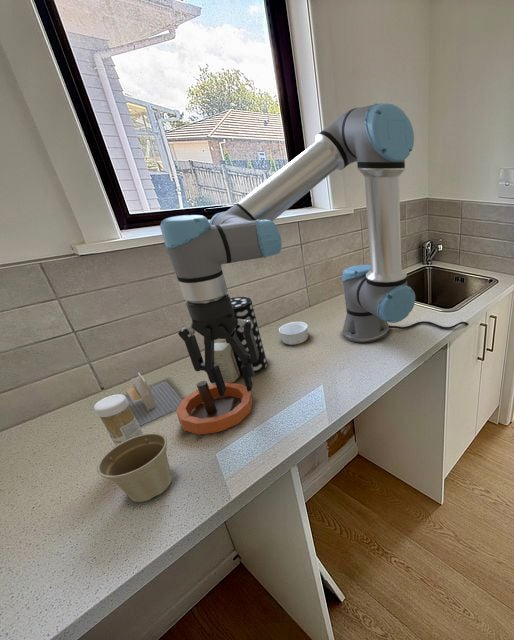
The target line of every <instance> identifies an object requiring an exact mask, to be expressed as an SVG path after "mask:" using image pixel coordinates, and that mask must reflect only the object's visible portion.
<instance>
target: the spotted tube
mask: <svg viewBox="0 0 514 640" xmlns="http://www.w3.org/2000/svg"><path fill="white" fill-rule="evenodd" d="M230 300H231V303H232V307H233V310H234V313H235V315H236V316H237V317H238V318H239V319H244V320H247V319H248V318H251V319H252V320H253V322H252V331H253V335H254V338H255V342H256V345H257V349H258V352H259V357H258V361H257V362H256V363H252V365H253V369H254V374H253V375H256V374H259V373H261V372H262V371H263V370H266V368H267V366H268V361H267V357H266V351H265V349H264V345H263V341H262V336H261V333H260V330H259V325H258V321H257V317H256V314H255V310H254V304H253V300H252V299H251V298H250V297H247V296H234V297H230ZM234 330H235V332H236V334H237V337H238V338H239V340H240V341H241V343H242V344H243V346H244V348H245V349H246V351H247V352H248V354H249V355H250V353H249V350H248V347H247V343H246V340H245V336H244V330H242V329H241V328H240V326H239V325H237V326H236V327H235V329H234ZM225 342H227V341H226V340H225ZM232 351H233V354H234V357H235V360H236V363H237V366H238V369H239V372H240V376H242V377H243V374H242V371H241V365H242V362H241V360H240V359H239V357H238V356H237V354H236V353H235V351H234V350H233V348H232Z"/></svg>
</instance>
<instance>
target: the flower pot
mask: <svg viewBox="0 0 514 640" xmlns="http://www.w3.org/2000/svg"><path fill="white" fill-rule="evenodd" d="M167 446H168V439H167V437H166V436H165V435H164V434H162V433H159V432H149V433H143V434H142V435H138V436H136V437H133V438H130V439H128V440H126V441H124V442H122V443H120V444H118V445H117V446H115V445H114V447H112V448H111V449H109V450H108V451H107V452H106V453H105V454H104V455H103V456H102V458H101V459H100V460H99V462H98V463H97V466H96V471H97V474H98V475H99V477H102V478H104V479H107V480H109V481H111V482H112V483H114V485H116V486H117V487H118V488H119V489H120V490H121V491H122V492H123V493H124V494H125V495H126V496H127V497H128V498H129V499H130V500H131V501H133V502H135V503H143V502H148V501H150V500H151V499H153V498H154V497H156V496H160V495H161V494H162V493H164V492H165V491H166V490H167V489H168V488H169V487H170V485H171V483H172V481H173V474H172V470H171V467H170V463H169V459H168V454H167V448H168V447H167Z"/></svg>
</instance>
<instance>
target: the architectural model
mask: <svg viewBox="0 0 514 640" xmlns="http://www.w3.org/2000/svg"><path fill="white" fill-rule="evenodd" d="M137 375H138V376H135V375H134V377H133V378H131V381H132V383H133V384H132V387H129V388H126V389H125V391H126V393H127V394H128V395H127V396H125V397H126V398H127V400H128V402H129V407H130V409H131V411H132V413H133V415H134V416H135V418H136V420H137V422H138V424H139V426H140V427H141V426H143V425H146V424H148V423H149V422H152V421H154V420H155V419H159V418H161V417H162V416H163V417H164V416H165V415H167V414H169V413H171V412H174V411H175V410H177V408H178V406H179V405H180V403H181V401H182V400H183V399H182V398H181V397H180V395H178V394H177V392H176V391H175V390H174V389H173V387H172V386H171V385H170V384H169V383H168V382H167V380H165V381H162V382H159V383H157V384H155V385H152V386H150V387H149V385H148V382H147V381H146V380H145V378H144V377H143V376H142V374H141V373H140V372H137Z"/></svg>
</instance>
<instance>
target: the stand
mask: <svg viewBox="0 0 514 640" xmlns="http://www.w3.org/2000/svg"><path fill="white" fill-rule="evenodd" d="M209 386H210V385H209V384H208V381H207V380H202V381H199V382H197V383H196V388H197V390H198V391H199V393H200V396H201V399H202V401H203V403H201V404H200V405H199V406H197V407H196V408H195V409H194V411H193V412H192V415H191V416H193V417H197V418H209V417H217V416H220V415H222V414H224V413H227V412H229V411H232V410H233V409H234V408H235V402H236V397H230V398H224V399H217V400H214V399H213V397H212V395H211V392H210V389H209Z"/></svg>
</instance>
